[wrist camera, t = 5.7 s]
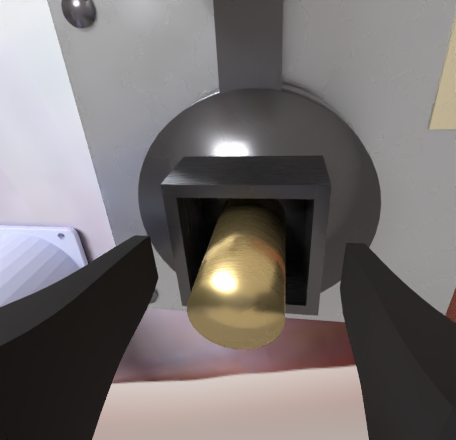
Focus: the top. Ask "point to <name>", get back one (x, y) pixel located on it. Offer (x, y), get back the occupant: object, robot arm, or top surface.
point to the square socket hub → (259, 163)
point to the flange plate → (296, 77)
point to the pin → (242, 276)
